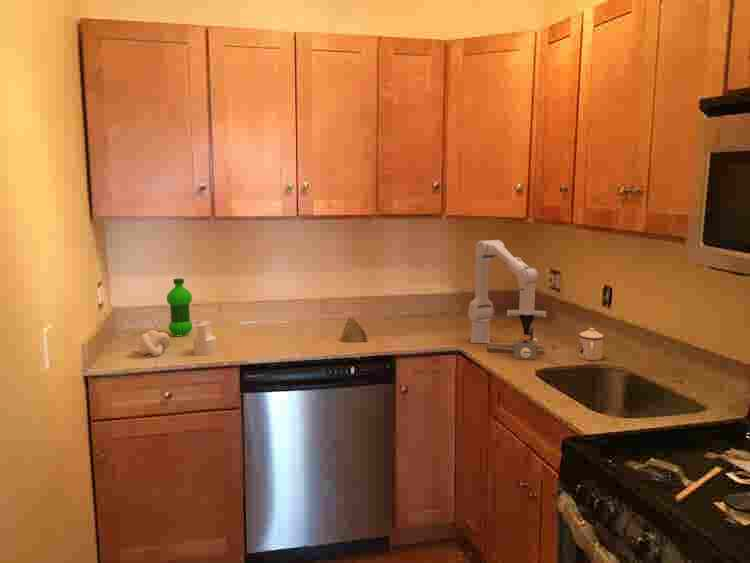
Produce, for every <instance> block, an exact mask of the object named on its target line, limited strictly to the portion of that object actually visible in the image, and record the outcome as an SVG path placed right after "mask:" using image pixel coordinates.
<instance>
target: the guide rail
mask: <svg viewBox="0 0 750 563" xmlns="http://www.w3.org/2000/svg"><path fill="white" fill-rule="evenodd" d="M489 346H495V347H514V342H513V343H511V342H510V343H509V342H491V341H490V342H489ZM542 346H543V344H540V343H538V348H542Z"/></svg>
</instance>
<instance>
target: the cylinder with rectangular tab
mask: <svg viewBox="0 0 750 563" xmlns="http://www.w3.org/2000/svg"><path fill="white" fill-rule="evenodd" d="M196 327H197V336H194V337H193V338H192V343H193V354H194V356H199V357H200V356H201V357H207V356H214V355H216V354H218V340H217V336H215V335H213V334H212V333H213V332H212V320H203V321H202V322H200V323H199V324H198V325H197V326H196Z"/></svg>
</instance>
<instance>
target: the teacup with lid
mask: <svg viewBox="0 0 750 563" xmlns="http://www.w3.org/2000/svg"><path fill="white" fill-rule="evenodd" d="M578 337H579V344H578V357H579V358H580V359H583V360H586V361H587V360H588V361H600V360H601V359H602V358H603V347H604V338H605V336H604V334H603V333H600V332H598V331H596V330H595V328H594V327H589V329H588V330H586V331H582V332H580V333H579V334H578Z"/></svg>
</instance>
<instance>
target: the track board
mask: <svg viewBox="0 0 750 563" xmlns="http://www.w3.org/2000/svg"><path fill="white" fill-rule="evenodd" d="M487 352H488V353H495V352H496V353H501V354H514V347H495V346H489V343H487ZM541 354H544V355H545V354H546V352H545V348H544V346H543V345H542V348H537V349H536V355H541Z"/></svg>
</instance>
